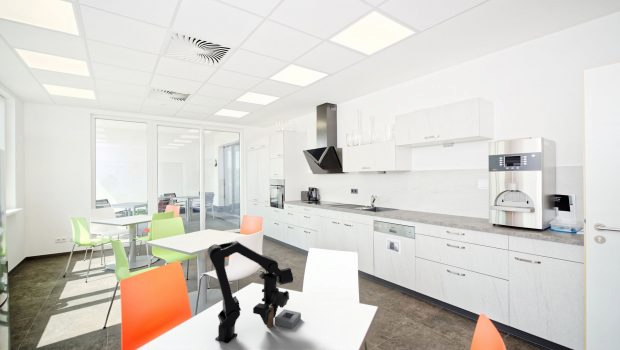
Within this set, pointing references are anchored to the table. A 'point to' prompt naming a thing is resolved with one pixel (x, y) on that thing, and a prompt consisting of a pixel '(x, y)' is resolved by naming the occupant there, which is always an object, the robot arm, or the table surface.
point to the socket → (287, 318)
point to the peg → (271, 317)
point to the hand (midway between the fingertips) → (270, 321)
